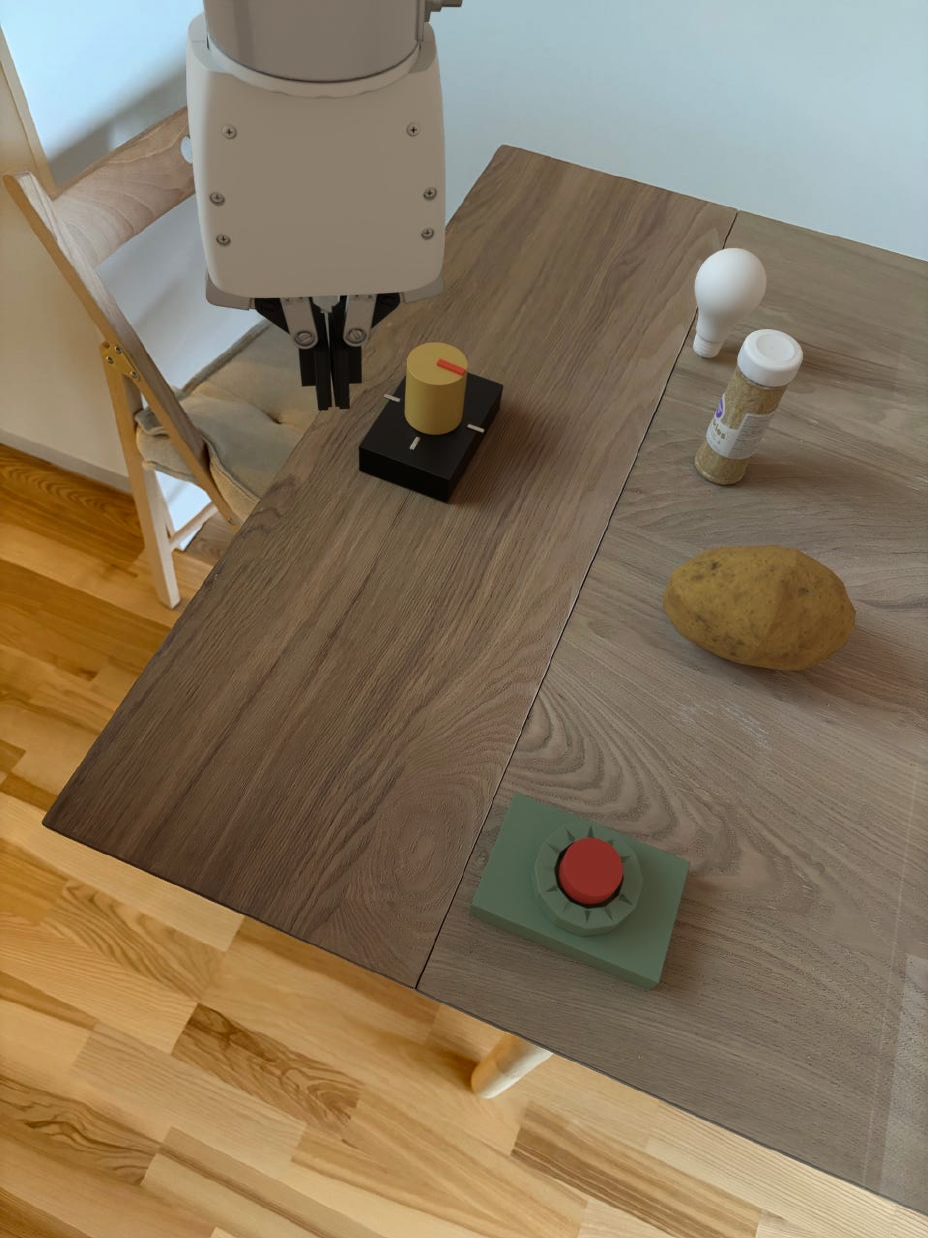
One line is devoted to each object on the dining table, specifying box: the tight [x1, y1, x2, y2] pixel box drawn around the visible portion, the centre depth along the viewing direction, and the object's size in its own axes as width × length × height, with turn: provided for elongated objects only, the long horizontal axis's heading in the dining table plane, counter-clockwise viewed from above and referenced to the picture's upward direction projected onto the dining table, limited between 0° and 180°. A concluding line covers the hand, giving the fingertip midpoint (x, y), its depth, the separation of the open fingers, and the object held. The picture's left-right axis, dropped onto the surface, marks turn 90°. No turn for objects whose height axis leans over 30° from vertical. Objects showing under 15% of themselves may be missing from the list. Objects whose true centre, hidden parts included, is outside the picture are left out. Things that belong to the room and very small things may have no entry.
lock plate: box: [358, 371, 504, 504], centre depth 79 cm, size 12×9×3 cm
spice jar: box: [694, 328, 804, 486], centre depth 76 cm, size 5×5×13 cm
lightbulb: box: [692, 247, 767, 359], centre depth 85 cm, size 6×6×11 cm
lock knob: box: [405, 342, 469, 435], centre depth 76 cm, size 5×5×6 cm
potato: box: [662, 544, 857, 671], centre depth 68 cm, size 10×13×9 cm
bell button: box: [559, 838, 623, 905], centre depth 57 cm, size 4×4×2 cm
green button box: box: [467, 791, 691, 991], centre depth 59 cm, size 12×8×4 cm, turn 69°
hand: (331, 389), depth 48 cm, fingers closed
